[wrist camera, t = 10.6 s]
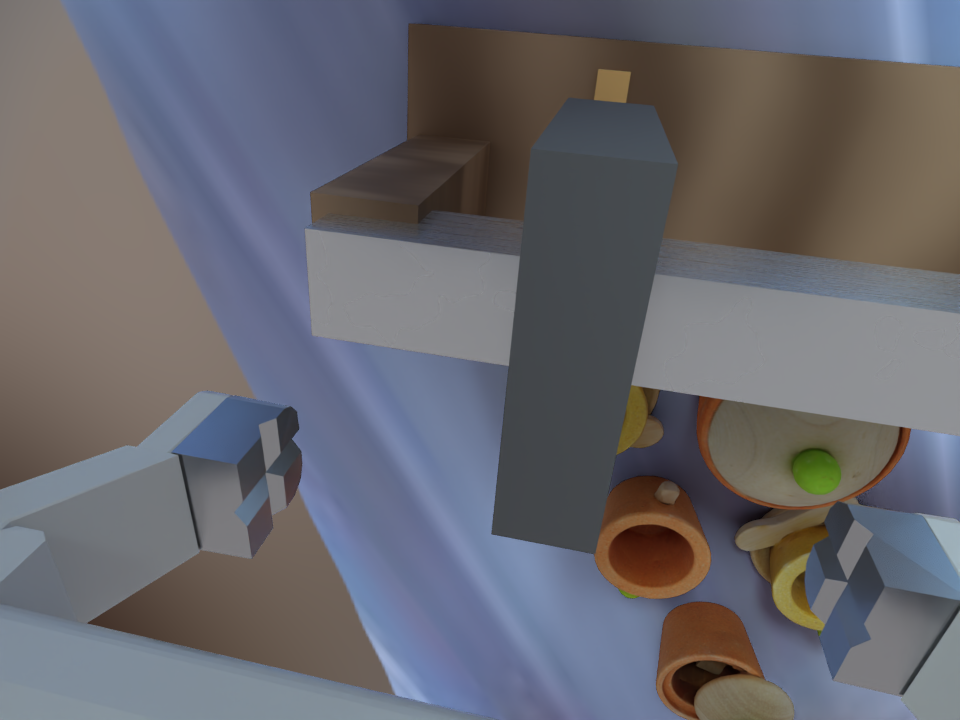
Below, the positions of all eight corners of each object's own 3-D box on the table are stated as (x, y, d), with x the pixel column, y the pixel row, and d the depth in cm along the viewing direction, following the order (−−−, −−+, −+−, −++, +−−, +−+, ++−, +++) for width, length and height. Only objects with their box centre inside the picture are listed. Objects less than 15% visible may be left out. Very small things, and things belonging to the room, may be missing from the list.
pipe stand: (414, 297, 31) (285, 466, 19) (419, 23, 25) (240, 21, 14) (1088, 394, 27) (1458, 685, 15) (1276, 92, 21) (2113, 177, 9)
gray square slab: (535, 362, 23) (491, 534, 15) (568, 97, 19) (531, 148, 11) (604, 372, 23) (595, 553, 15) (654, 105, 18) (678, 164, 11)
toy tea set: (489, 326, 32) (442, 434, 23) (824, 211, 26) (920, 297, 18) (653, 672, 41) (662, 839, 32) (926, 640, 35) (1021, 831, 27)
